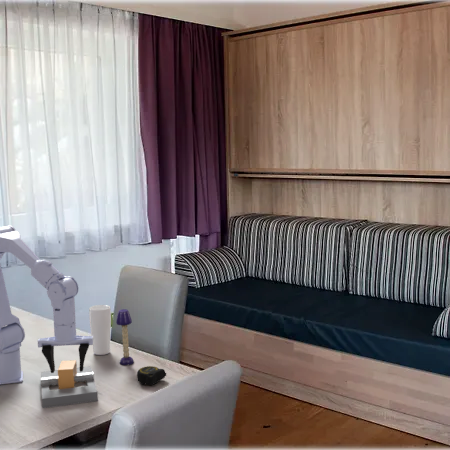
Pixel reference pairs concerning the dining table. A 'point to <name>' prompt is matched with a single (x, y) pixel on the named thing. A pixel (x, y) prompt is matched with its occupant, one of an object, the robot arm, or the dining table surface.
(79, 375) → the hook bar
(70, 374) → the tall orange box
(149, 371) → the tape measure
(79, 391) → the gray rectangular frame
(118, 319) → the toy lamp
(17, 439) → the dining table surface
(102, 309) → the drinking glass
